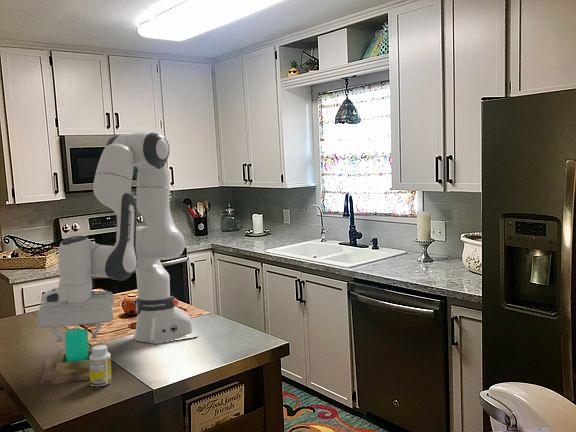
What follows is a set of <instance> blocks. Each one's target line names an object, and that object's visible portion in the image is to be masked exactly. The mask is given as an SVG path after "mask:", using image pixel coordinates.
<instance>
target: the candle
mask: <svg viewBox="0 0 576 432" xmlns="http://www.w3.org/2000/svg"><path fill="white" fill-rule="evenodd" d="M64 335H65V338H64V339H65V352H66V362H74V361H83V360H88V350H89V335H88V330H87V328H78V325H75V328H71V329H69V330H67V331H65V332H64Z"/></svg>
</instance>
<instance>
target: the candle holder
mask: <svg viewBox="0 0 576 432" xmlns="http://www.w3.org/2000/svg"><path fill="white" fill-rule="evenodd" d="M91 354H92V349H88V360H83V361H74V362H66V351H64V352H59V353H58V355H57V358H49V359H46V362H45V363H46V364H45V366H44V369H43V372H42V374H41V379H40V383H39V384H40V387H41V386H49V385H57V384H67V383H74V382H73V381H76V382H80V381H79V380H84V381H86V380H85V379H90V371H89V356H90V355H91Z"/></svg>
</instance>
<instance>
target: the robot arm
mask: <svg viewBox="0 0 576 432" xmlns="http://www.w3.org/2000/svg"><path fill="white" fill-rule="evenodd" d="M105 145H106V146H105V147H104V149H103V150H102V152H101V155H100V157H99V161H98V163H97V167H96V171H95V175H94V179H93V186H92V187H93V194H94V197H95V198H96V199H97V200H98V201H99V202H100V203H101V204H102V205H103V206H105V207H106V208H107V207H108V208H109V209H111V210H112V211H113V212H114V214H115V215H116V236H115V238H116V241H115V244H114V245H105V244H99V243H96V242H94V241H92V240H90V239H89V237H87V236H86V235H75V236H68V237H65V238H64V239H63V240H62V239H61V242H60V243H59V247H58V256H57V262H58V263H57V265H58V272H59V281H58V287H55V288H53V289H49V290H47V291H45V292H44V293H43V294H42V295H41V296H42V297H41V300H42V303H41V304H40V307H39V310H38V314H37V325H38V327H39V328H41V329H46V328H51V332H52V333H53V334H54V335H55V337H56V342H57V343H60V342H63V333H59V332H58V329H59V327H60V328H61V327H72V326H80V325H81V326H82V325H95V327H96V328H95V330H92V331H91V339H98V333H99V330H100V329H101V327H102V324H104V323H111V322H112V321H113V320H114V310H113V305H114V302H115V295H114V294H113V292H111V291H109V290H93V280H92V277H98V278H105V279H106V278H107V279H112V280H116V281H119V282H120V281H122V282H123V281H125V280H128V279H129V278H130V277H131V276H132V275H133V274H134V273H135V274H136V275H135V276H136V289H137V297H136V299H135V300H136V301H135V308H136V309H135V311H136V312H135V313H136V314H137V317H136V325H135V330H134V334H133V340H135V341H138V342H141V343H148V344H149V343H150V344H153V345H159V344H158V343H161V344H164V343H163V342H167V341H171V340H175V339H179V338H183V337H186V336H185V335H187V334H191V333H192V332H193V326H194V325H193V322H192V318H191V317H190V315H189V314H188V313H187V312H185V311H184V310H182V309H181V308H179V307H178V306H177V305H178V304H179V300H178V298H176V297H174V296H173V295H171V289H170V288H171V285H170V281H171V280H170V279H171V277H170V274H169V272H168V271H167V270H166V269H165V267H164V266H163V264H162V262H161V260H163V261H164V260H173V259H177V258H179V257H180V256H181V255H182V254H183V252H184V250H185V248H186V240H185V236H184V235H183V233H181V231H179V229H178V228H177V226H176V225H175V222H174V219H173V217H172V213H171V208H170V204H171V203H170V175H169V168H168V163H167V160H168V158H169V157H170V144H169V142H168V140H167V138H166V137H165V136H164V135H162V134H160V133H157V132H149V133H148V132H134V133H128V134H127V133H126V134H116V135H114V136H112V137H111V138H109V139H108V140H107V142H106V144H105ZM135 167H136V169H137V174H136V176H137V177H136V198H135V197H134V196H133V193H132V184H133V183H132V182H133V177H134V168H135ZM138 213H139V214H140V215H141V216H142V218H143V219H144V223H145V225H146V226H145V225H140V226H137V221H138V220H137V218H138ZM182 336H183V337H182ZM167 343H168V342H167Z"/></svg>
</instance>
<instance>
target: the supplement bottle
mask: <svg viewBox="0 0 576 432" xmlns="http://www.w3.org/2000/svg"><path fill="white" fill-rule="evenodd" d="M91 350H92V354H91V355H90V356H89V371H90V380H89V384H90V386H91V387H93V386H103V385H106V384H108V383H110V382H111V383H112V357H111V352H109V351H108V345H107V344H106V345H105V344H99V345H94V346H93V347H91ZM111 383H110V384H111Z"/></svg>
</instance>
